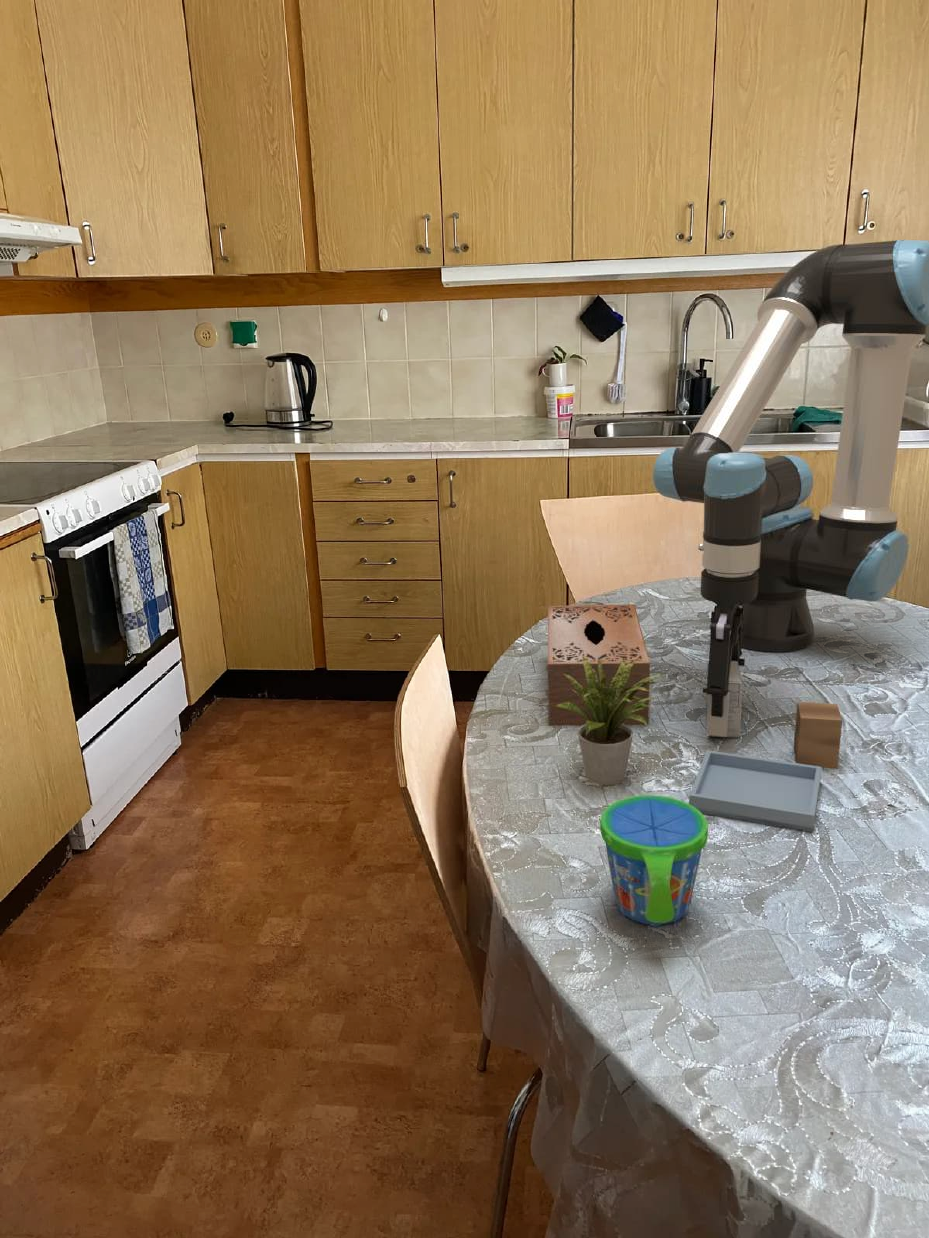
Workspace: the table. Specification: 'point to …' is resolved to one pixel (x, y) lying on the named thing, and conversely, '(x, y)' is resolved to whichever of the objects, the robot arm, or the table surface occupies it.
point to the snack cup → (653, 855)
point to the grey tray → (757, 790)
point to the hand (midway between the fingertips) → (722, 720)
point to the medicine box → (732, 701)
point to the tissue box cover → (593, 655)
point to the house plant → (607, 722)
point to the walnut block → (817, 734)
